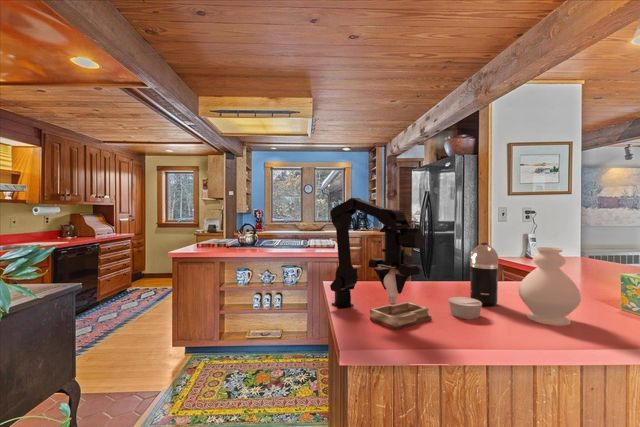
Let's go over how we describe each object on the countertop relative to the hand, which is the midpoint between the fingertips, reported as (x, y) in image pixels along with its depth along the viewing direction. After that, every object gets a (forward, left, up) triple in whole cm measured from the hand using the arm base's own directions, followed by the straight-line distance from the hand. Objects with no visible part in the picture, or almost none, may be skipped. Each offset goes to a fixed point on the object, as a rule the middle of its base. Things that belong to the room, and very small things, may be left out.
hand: (392, 291), depth 110 cm
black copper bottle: (+6, +47, -11) cm, 49 cm away
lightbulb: (0, 0, -5) cm, 5 cm away
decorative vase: (+29, +47, -11) cm, 56 cm away
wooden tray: (0, +4, -10) cm, 11 cm away
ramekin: (+10, +27, -11) cm, 31 cm away
